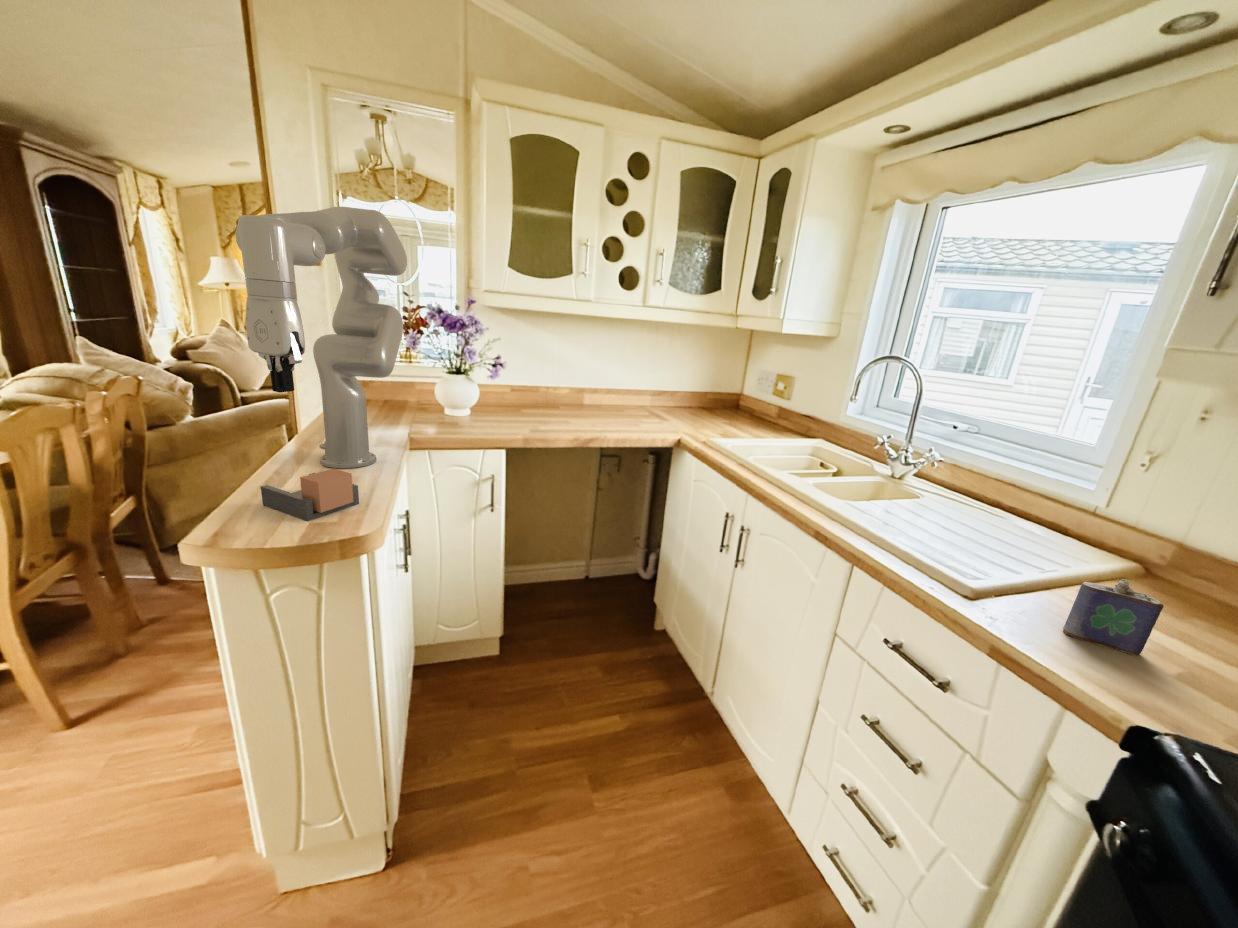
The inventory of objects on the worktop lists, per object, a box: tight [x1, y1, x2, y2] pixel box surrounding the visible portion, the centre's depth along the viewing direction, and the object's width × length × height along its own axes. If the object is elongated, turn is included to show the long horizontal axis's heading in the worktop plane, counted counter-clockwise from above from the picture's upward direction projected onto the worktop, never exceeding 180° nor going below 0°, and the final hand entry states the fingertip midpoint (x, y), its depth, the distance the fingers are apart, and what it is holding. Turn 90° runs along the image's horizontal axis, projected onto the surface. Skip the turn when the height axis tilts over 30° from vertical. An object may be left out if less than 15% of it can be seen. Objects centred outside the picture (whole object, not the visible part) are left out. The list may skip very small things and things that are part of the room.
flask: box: [1062, 578, 1164, 657], centre depth 75 cm, size 9×3×11 cm, turn 59°
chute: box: [260, 472, 360, 522], centre depth 99 cm, size 13×11×4 cm
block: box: [299, 468, 354, 513], centre depth 96 cm, size 5×7×6 cm
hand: (283, 391), depth 95 cm, fingers closed
